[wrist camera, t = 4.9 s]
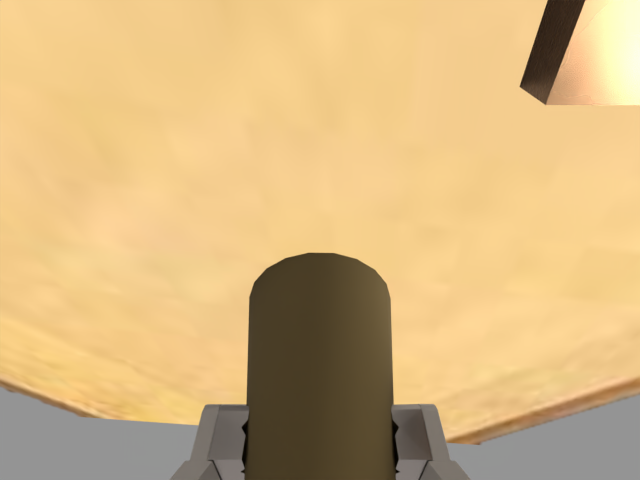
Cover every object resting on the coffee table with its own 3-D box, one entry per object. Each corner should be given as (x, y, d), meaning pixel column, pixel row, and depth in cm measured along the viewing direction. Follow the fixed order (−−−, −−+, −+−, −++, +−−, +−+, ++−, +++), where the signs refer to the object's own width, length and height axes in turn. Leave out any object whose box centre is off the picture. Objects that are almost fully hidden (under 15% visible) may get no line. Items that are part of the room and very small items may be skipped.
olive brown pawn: (408, 326, 17) (504, 732, 8) (291, 359, 18) (267, 725, 10) (358, 230, 13) (431, 757, 5) (220, 282, 15) (84, 741, 6)
